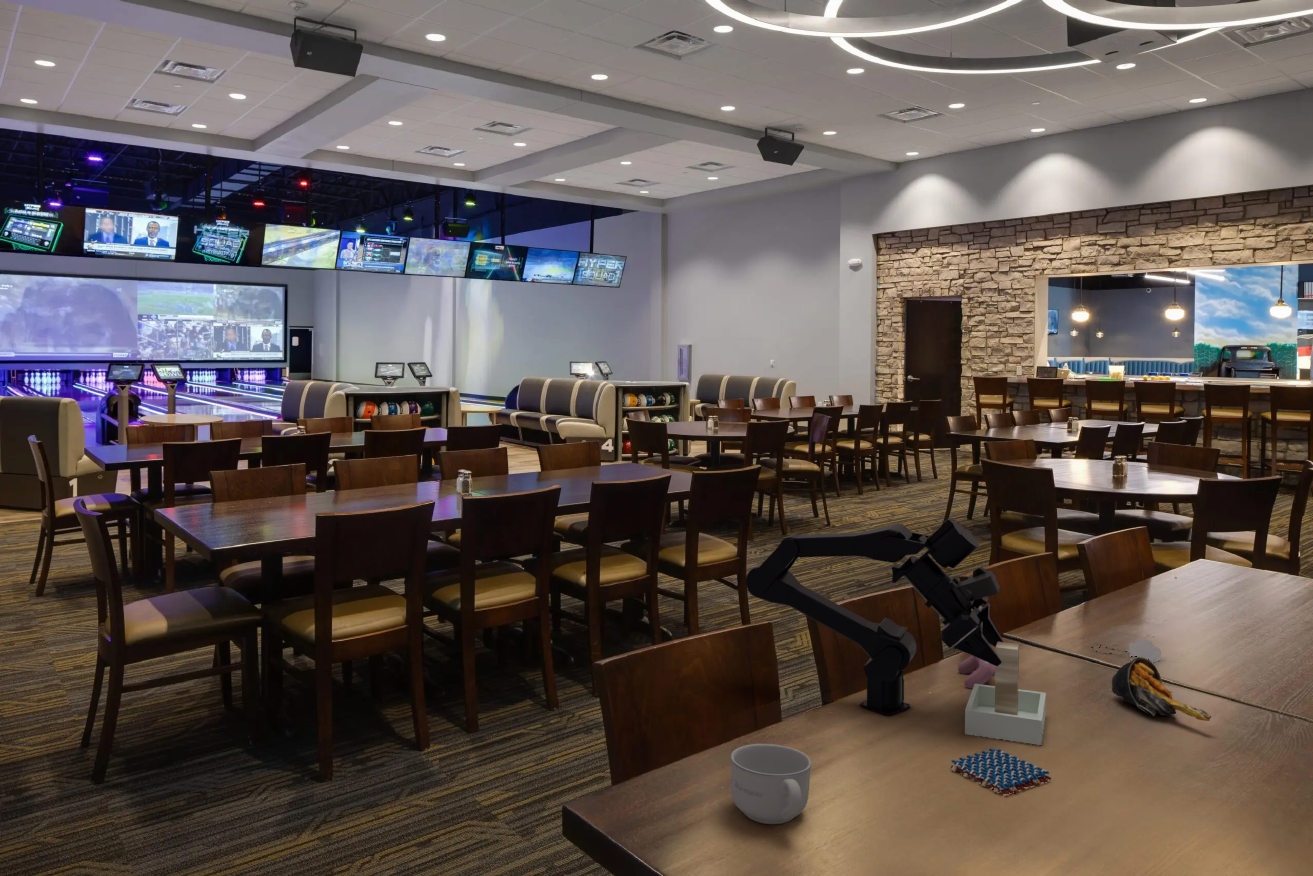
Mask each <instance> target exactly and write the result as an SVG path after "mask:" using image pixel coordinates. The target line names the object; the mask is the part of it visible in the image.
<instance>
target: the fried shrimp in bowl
mask: <svg viewBox="0 0 1313 876" xmlns="http://www.w3.org/2000/svg"><path fill="white" fill-rule="evenodd" d="M1111 690H1112V691H1111V692H1112V693H1113V694H1115V696H1118V697H1121V698H1122V699H1123V700H1124V701H1125V702H1127V703H1130V704H1131V705H1133V706H1136V707H1137V708H1138V709H1140V710H1141V711H1143V712H1145V713H1146V714H1148V715H1150V716H1152V717H1155V716H1156V714H1159V715H1161V716H1166V717H1167V716H1171V715H1177V711H1180V712H1182V713H1183V714H1185V715H1187V716H1190V717H1192V718H1193V717H1194V718H1195V719H1196V720H1198V721H1205V722H1209V721H1210V720H1211V718H1212V716H1211V714H1209V713H1208V712H1206V711H1205V710H1203V709H1198V708H1197V707H1193V706H1192V705H1188V704H1186V703H1184V702H1179V701H1178V700H1175V699H1173V691H1171V690H1170V689H1168V688H1166V687H1165V686H1164V684H1163V681H1162V677H1161V675H1160V673H1159V670H1158V668H1157V667H1156V666H1155V664H1154V663H1153V661H1152V662H1151V660H1148V659H1145V658H1141V657H1134V659H1132V660H1131V661H1130V662H1127V663H1125V664H1124V665H1122V666H1121V667H1120V668H1119V669H1118V670H1117V672H1116V673H1115V674H1114V675H1113V676H1112V678H1111Z"/></svg>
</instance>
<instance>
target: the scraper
mask: <svg viewBox="0 0 1313 876" xmlns="http://www.w3.org/2000/svg"><path fill="white" fill-rule="evenodd" d="M995 652H996V654H997V655H998V657H999V658H1000V660H1001V661H1002V663H1001V664H1000V665H999V666H995V676H994V678H995V680H994V684H995V685H994V686H995V712H996V713H1004V714H1011V715H1018V689H1019V682H1020V681H1019V680H1020V678H1019V676H1020V675H1019V673H1020V669H1019V667H1020V643H1013V642H1005V641H1004V642H997V645H996V647H995Z"/></svg>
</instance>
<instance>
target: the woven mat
mask: <svg viewBox="0 0 1313 876" xmlns="http://www.w3.org/2000/svg"><path fill="white" fill-rule="evenodd" d="M981 753H982V754H981ZM981 753H977V752H975V753H973V754H974V756H973V755H966V757H964V758H963V757H959V758H958V759H959V760H955V759H951V761H950V762H951V763H953V764H954V765H953V764H952V765H950V770H951V772H954V773H959V772H960V773H959V775H960V774H961V775H960V776H963V777H964V778H965V779H970V778H971V779H970V780H971V781H972V780H976V782H975V781H974V784H975V783H977V784H979V783H980V782H981V783H982V784H979V785H981V786H982V787H983V786H984V788H986V787H985V786H988V787H987V788H991V787H993V788H994V790H992V792H994V793H995V792H1000V791H1001V793H1002V794H1009V793H1012V794H1013V792H1014V794H1017V793H1019V792H1018V791H1019V790H1023V791H1026V790H1025V788H1024V787H1031V786H1035V785H1038V786H1037V787H1039V786H1041V785H1042V784H1041V783H1042V782H1047V783H1049V782H1048V780H1051V781H1052V777H1051V776H1049V774H1050V772H1049V771H1047V770H1046V769H1043V768H1041V767H1039V766H1037V765H1035V764H1034V763H1031V762H1027V761H1026V760H1024V759H1022V760H1021V758H1018V757H1017V756H1016V755H1014V756H1013V754H1009V753H1008V752H1005V751H1004V750H1002V749H996V748H995V749H993V748H989V749H988V751H986V750H982V751H981ZM969 777H970V778H969ZM977 784H976V785H977ZM993 784H994V785H993ZM1040 784H1041V785H1040ZM1035 787H1036V786H1035Z"/></svg>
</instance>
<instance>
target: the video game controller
mask: <svg viewBox="0 0 1313 876" xmlns="http://www.w3.org/2000/svg"><path fill="white" fill-rule="evenodd" d="M957 669H958V672H959V674H962V675H966V674H969V675H968V676H966V678H965V680H964V683H963V684H964V686H965V688H966V689H973V687H974V684H981V685H985V684H986V683H987V682H988V681H990V680H991V679H992V678H993V677H994V678H995V665H993V664H990V663H988V662H986V661H984V660H982V659H979V658H977V657H975V656H973V655H970V656H969V657H968V658H966V659H964V660H963V661H961V663H959V664H958V667H957Z"/></svg>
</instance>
